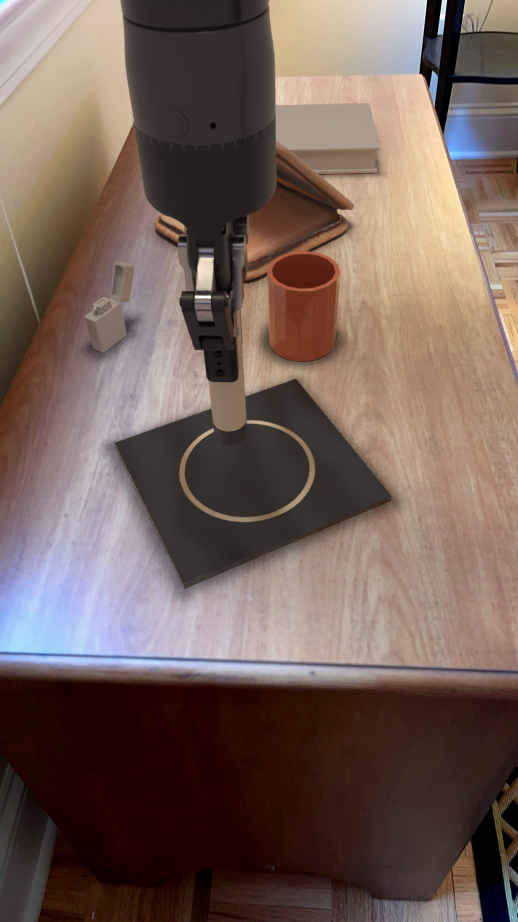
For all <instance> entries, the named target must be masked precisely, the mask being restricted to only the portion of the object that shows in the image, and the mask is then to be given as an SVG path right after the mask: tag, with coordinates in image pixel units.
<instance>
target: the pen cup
mask: <svg viewBox="0 0 518 922" xmlns="http://www.w3.org/2000/svg"><path fill="white" fill-rule="evenodd" d="M266 275H267V313H268V316H267V317H268V318H267V319H268V341H269V346H270V348H271V349H272V351H273V352H274V353H275V354H276V355H278V356H279V357H281V358H283V359H286V360H288V361H292V362H293V361H294V362H311V361H316V360H319V359H322V358H323V357H325V356H327V355H328V354H329V353H331V351H332V350H333V349H334V347H335V345H336V339H337V329H338V328H337V326H338V314H339V313H338V312H339V311H338V310H339V297H340V280H341V270H340V266H339V263H337V262H336V261H335V260H334V259H333V258H332V257H330V256H328V255H326V254H323V253H322V252H314V251H310V250H308V251H300V252H291V253H288V254H284V255H281V256H279V257H278V258H276V259H275V260H273V261H272V262H271V264H270V265H269V267H268V269H267V273H266Z"/></svg>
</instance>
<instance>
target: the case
mask: <svg viewBox="0 0 518 922" xmlns="http://www.w3.org/2000/svg"><path fill="white" fill-rule="evenodd" d="M354 208H355V205H354V202H352V201H351V200H350V199H349V198H348V197H346V196H345V195H344V194H343V193H342V192H341V191H339V189H337V188H336V187H334V185H332V184H331V183H330V182H329V181H327V180H326V179H325V178H324V177H322V175H321V174H318V173H316V172H315V171H314V170H313V169H311V168H310V167H309V166H308V165H307V164H305V163H304V162H303V161H302V160H301V159H299V158H298V157H297V156H296V155H295V154H294V153H292V152H291V151H290V150H289V149H287V148H286V147H285V146H283V145H282V144H280V143H279V142H277V141H276V189H275V192H274V194H273V196H272V198H271V199H270V201H269V202H268V203H267V204H266V205H265V206H263V207H262V208H261V209H259V210H258V211H256V212H254V213H252V214H250V215H249V224H250V230H249V240H248V243H247V256H248V268H247V277H246V279H245V280H244V281H251V280H255V279H257V278H260V277H262V276H264V275H266V274H267V269H268V267H269V265H270V264H271V262H272V261H273V260H275V259H276V258H278V257H279V256H281V255H284V254H288V253H291V252H300V251H310V250H313V249H314V248H316V247H319V246H320V245H322V244H324V243H326V242H328V241H331V240H332V239H334V238H335V237H338V236H339V235H342V234H343V233H344V232H345V231H346V230H347V229H348V228H349V221H348V219H347V218H346V217H345V216H344V215H342V214H340V213H339V212H338V210H340V211H346V210H348V211H353V210H354ZM153 223H154V228H155V230H156V231H158V232H159V233H160V234H161V235H163V236H165V237H166V238H168V239H170V240H171V241H172V242H174V243H175V244H178V236H179V235H185V231H184V225H183V224H182V223H180V222H179V221H177V220H175V219H173V218H171V217H167V216H165V215H163V214H162V213H160V214H159V215H158V216H157V217H156V218H155V220H154V222H153Z"/></svg>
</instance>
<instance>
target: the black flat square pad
mask: <svg viewBox="0 0 518 922" xmlns="http://www.w3.org/2000/svg"><path fill="white" fill-rule="evenodd" d="M245 401H246V419H247V436H246V438H245V439H244V440H243V441H242V442H240V443H238V444H235V445H225V444H222V443H220V442H218V441H217V440H216V438H215V436H214V428H213V418H212V409H211V408H209V409H206V410H203V411H200V412H197V413H194V414H192V415H189V416H186V417H183V418H180V419H177V420H175V421H172V422H168V423H166V424H163V425H161V426H157V427H155V428H152V429H149V430H146V431H144V432H143V431H142V432H141V433H138V434H135V435H132V436H129V437H127V438H124V439H121V440H118V441H116V442H114V447H115V449H116V450H117V454H119V458H120V459H121V461H122V463H123V465H124V467H125V470H126V471H127V474H128V475H129V478H130V480H131V482H132V484H133V486H134V488H135V490H136V492H137V494H138V496H139V498H140V500H141V503H142V504H143V506H144V508H145V511H146V513H147V515H148V517H149V518H150V521H151V523H152V525H153V527H154V529H155V531H156V534H157V535H158V537H159V539H160V541H161V543H162V546H163V548H164V550H165V552H166V554H167V556H168V558H169V560H170V562H171V564H172V566H173V568H174V570H175V572H176V574H177V576H178V579H179V580H180V582H181V585H182V587H183V589H186V588H188V587H190V586H193V585H195V584H197V583H199V582H203V581H204V580H207V579H209V578H211V577H214V576H216V575H218V574H221V573H223V572H226V571H228V570H230V569H232V568H233V569H234V567H237V566H240V565H243V564H244V563H247V562H249V561H252V560H254V559H256V558H258V557H260V556H261V557H262V556H263V555H265V554H268V553H270V552H272V551H274V550H277V549H280V548H282V547H284V546H286V545H289V544H292V543H294V542H296V541H298V540H301V539H303V538H306V537H308V536H309V535H312V534H315V533H317V532H319V531H321V530H324V529H326V528H329V527H331V526H334V525H335V524H338V523H340V522H343V521H345V520H348V519H350V518H352V517H354V516H357V515H359V514H361V513H364V512H366V511H368V510H371V509H374V508H376V507H378V506H381V505H383V504H385V503H388V502H390V501H391V500H392V494H391V493H390V492H389V490H388V489H387V488H386V487H385V486H384V485H383V484H382V482H381V481H380V480H379V479H378V477H377V475H375V474H374V472H373V471H372V469H370V468H369V466H368V465H367V464H366V462H365V461H364V460H363V459H362V458H361V456H360V455H359V454H358V453H357V451H356V450H355V449H354V448H353V447H352V445H351V444H350V443H349V441H347V439H346V438H345V437H344V435H343V434H342V433H341V432H340V430H339V429H338V428H337V427H336V425H334V423H333V422H332V420H331V419H329V417H328V416H327V414H325V412H324V410H322V409H321V407H320V406H319V404H317V402H316V401H315V400H314V399H313V398H312V396H311V395H310V394H309V392H308V391H307V390H306V389H305V388H304V386H303V385H302V384H301V383H300V382H299V380H298V379H297V378H294V379H290V380H288V381H286V382H282V383H279V384H277V385H274V386H271V387H268V388H266V389H265V388H264V389H261V390H259V391H257V392H254V393H251V394H248V395H245Z"/></svg>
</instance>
